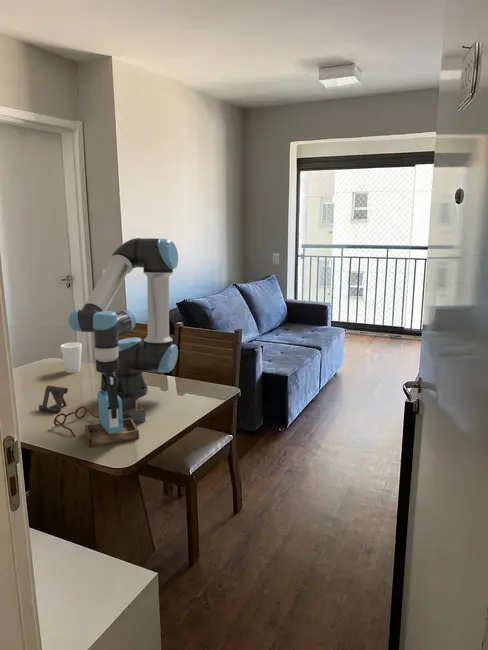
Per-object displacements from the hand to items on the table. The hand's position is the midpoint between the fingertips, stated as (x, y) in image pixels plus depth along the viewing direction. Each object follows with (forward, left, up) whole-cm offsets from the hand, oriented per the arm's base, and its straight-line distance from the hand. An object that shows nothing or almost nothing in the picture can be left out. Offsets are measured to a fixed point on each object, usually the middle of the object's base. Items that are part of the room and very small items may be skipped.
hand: (110, 418), depth 163 cm
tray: (0, 0, -6) cm, 6 cm away
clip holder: (-9, -16, -6) cm, 19 cm away
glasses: (+9, -13, -7) cm, 17 cm away
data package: (0, 0, -3) cm, 3 cm away
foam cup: (+5, -80, -6) cm, 80 cm away
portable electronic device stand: (+16, -34, -7) cm, 38 cm away
